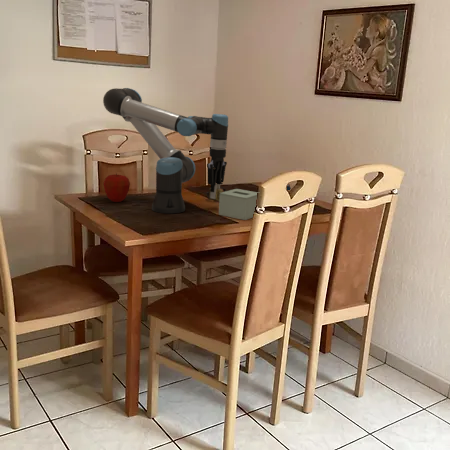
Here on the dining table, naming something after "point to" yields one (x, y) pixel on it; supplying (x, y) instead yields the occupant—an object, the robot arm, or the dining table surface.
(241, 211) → the coin box
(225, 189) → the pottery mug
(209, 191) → the beige flat block
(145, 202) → the dining table surface
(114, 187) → the apple
